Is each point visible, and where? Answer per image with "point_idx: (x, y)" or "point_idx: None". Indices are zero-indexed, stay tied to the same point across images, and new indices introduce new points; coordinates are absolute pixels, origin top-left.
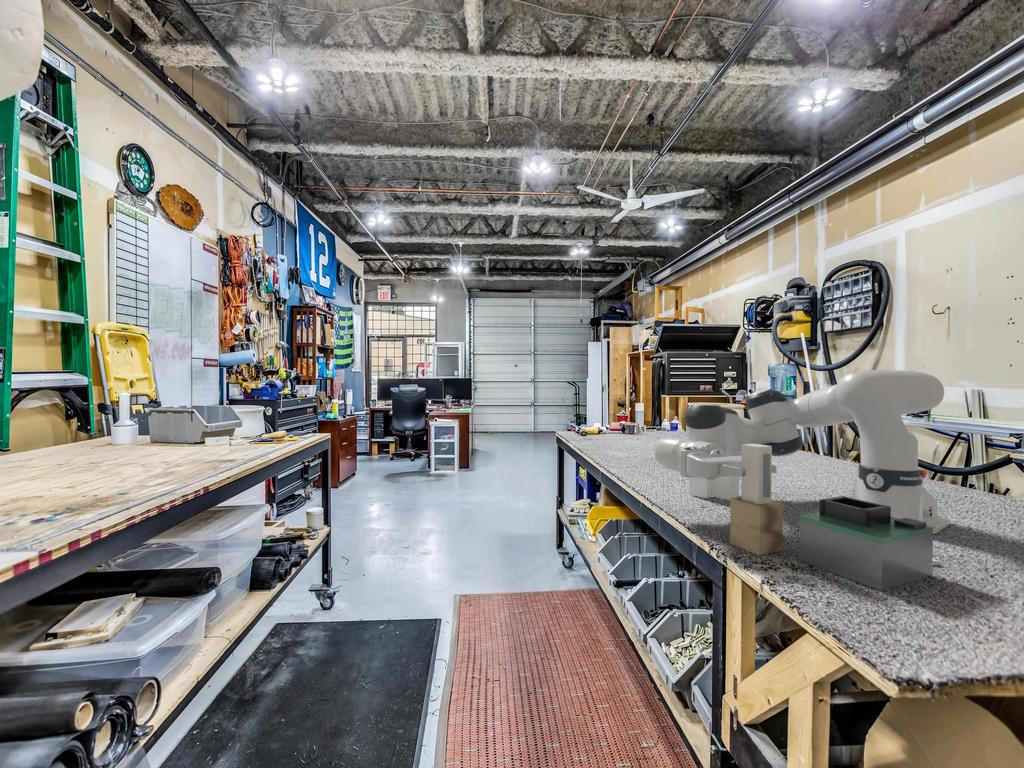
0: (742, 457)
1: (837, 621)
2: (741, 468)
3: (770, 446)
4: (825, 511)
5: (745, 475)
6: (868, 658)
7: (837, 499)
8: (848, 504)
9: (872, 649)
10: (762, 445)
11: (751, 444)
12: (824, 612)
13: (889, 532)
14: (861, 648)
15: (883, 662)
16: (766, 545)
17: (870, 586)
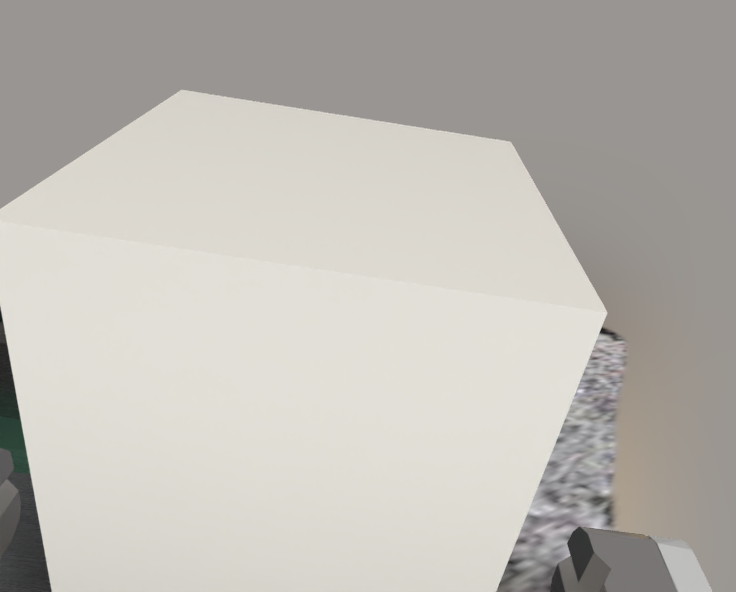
0: (497, 563)
1: (567, 416)
2: (648, 543)
3: (213, 100)
4: None
5: (554, 582)
6: (621, 364)
7: (1, 326)
8: None
9: (588, 366)
10: (242, 133)
11: (308, 220)
12: (562, 440)
13: None
14: (606, 374)
15: (604, 353)
16: None
17: None
